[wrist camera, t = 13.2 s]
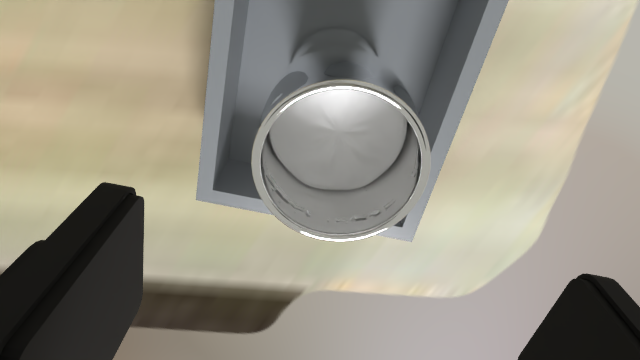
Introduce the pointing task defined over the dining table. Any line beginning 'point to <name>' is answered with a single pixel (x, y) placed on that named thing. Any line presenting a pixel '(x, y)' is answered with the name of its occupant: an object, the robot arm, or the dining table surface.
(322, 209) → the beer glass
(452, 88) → the box
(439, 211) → the dining table surface
